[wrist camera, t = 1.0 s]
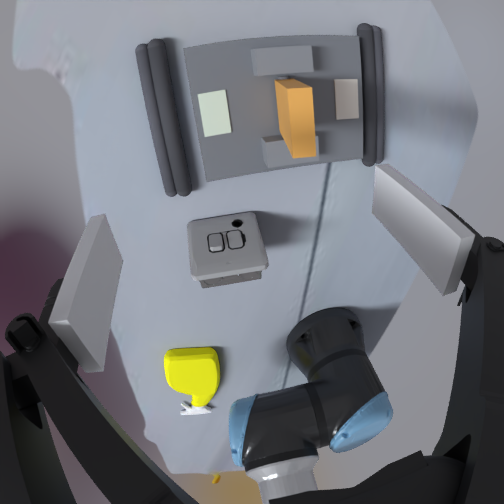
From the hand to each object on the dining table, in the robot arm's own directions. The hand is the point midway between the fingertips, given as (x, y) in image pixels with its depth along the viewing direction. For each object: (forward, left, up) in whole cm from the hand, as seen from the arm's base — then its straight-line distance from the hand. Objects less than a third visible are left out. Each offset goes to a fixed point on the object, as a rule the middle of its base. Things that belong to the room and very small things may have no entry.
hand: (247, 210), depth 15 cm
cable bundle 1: (+1, +5, -26) cm, 26 cm away
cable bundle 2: (+1, -20, -26) cm, 33 cm away
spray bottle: (-51, +14, -27) cm, 59 cm away
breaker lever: (+1, -8, -22) cm, 23 cm away
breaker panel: (+1, -8, -26) cm, 27 cm away
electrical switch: (-16, +1, -26) cm, 31 cm away
